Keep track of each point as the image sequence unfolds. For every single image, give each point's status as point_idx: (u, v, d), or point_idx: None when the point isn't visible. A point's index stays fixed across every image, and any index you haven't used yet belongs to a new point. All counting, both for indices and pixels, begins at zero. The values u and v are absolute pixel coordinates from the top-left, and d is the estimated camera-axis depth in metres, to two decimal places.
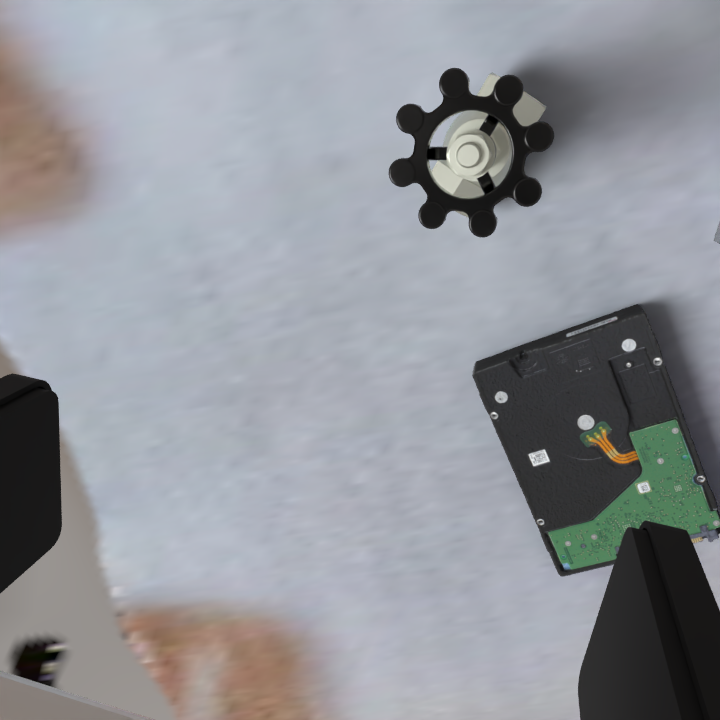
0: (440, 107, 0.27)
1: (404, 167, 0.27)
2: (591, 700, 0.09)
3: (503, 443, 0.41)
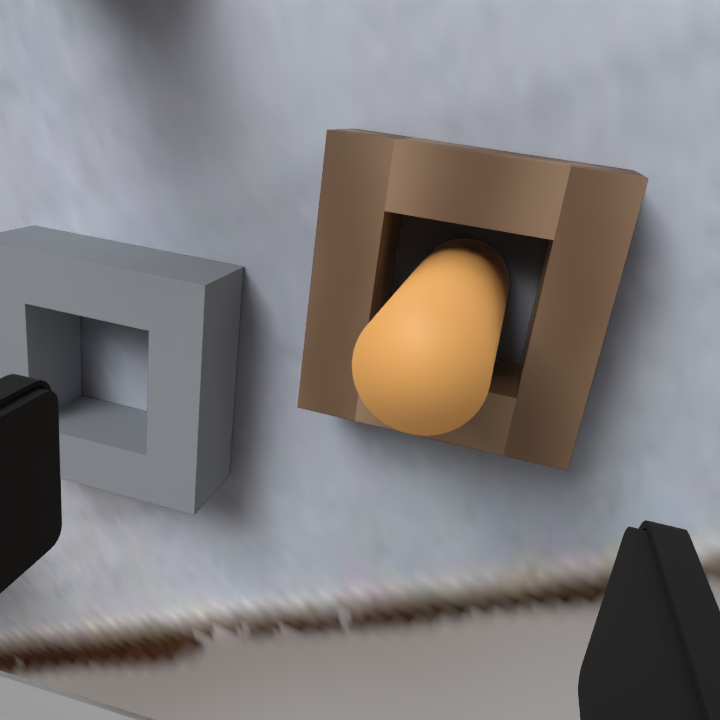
0: None
1: None
2: (591, 700, 0.09)
3: None
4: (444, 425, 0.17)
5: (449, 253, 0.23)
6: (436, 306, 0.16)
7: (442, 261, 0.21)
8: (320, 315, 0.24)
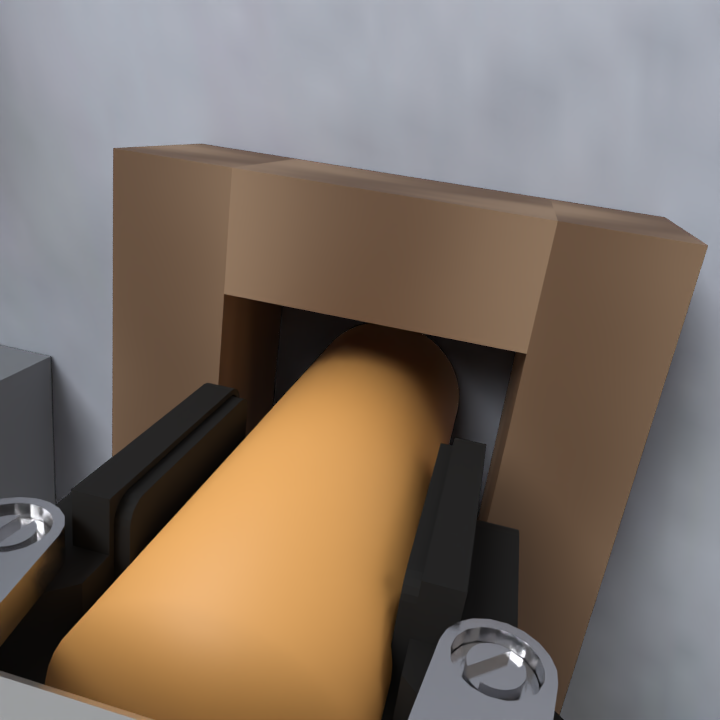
0: None
1: None
2: None
3: None
4: None
5: (342, 368, 0.13)
6: (217, 616, 0.06)
7: (319, 395, 0.11)
8: None
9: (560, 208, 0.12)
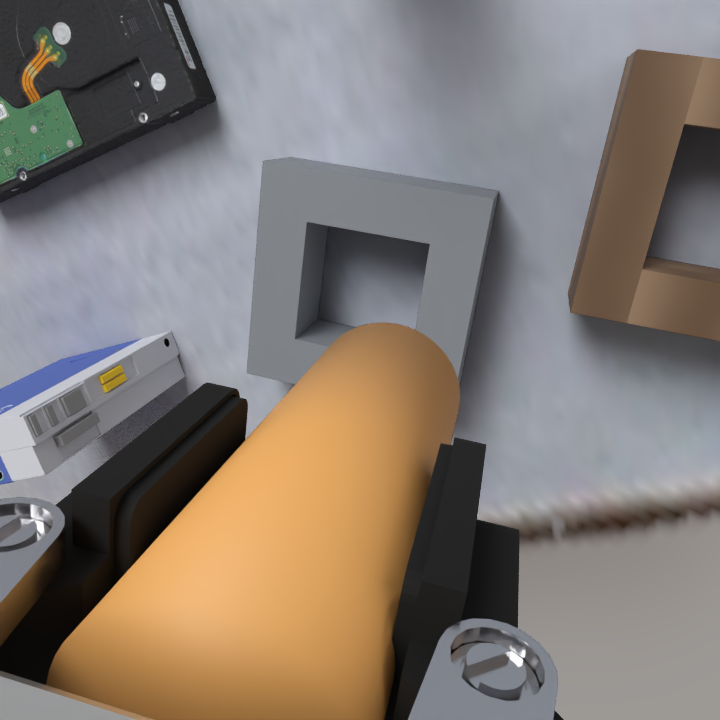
0: None
1: None
2: None
3: None
4: None
5: (344, 368, 0.13)
6: (220, 619, 0.06)
7: (320, 396, 0.11)
8: (606, 223, 0.27)
9: None
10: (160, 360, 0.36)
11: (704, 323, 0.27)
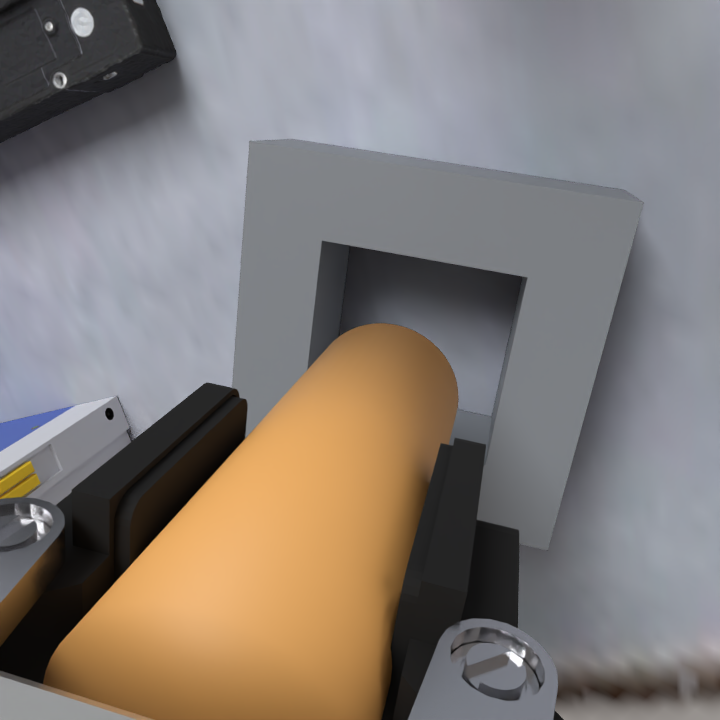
0: None
1: None
2: None
3: None
4: None
5: (341, 369, 0.13)
6: (216, 620, 0.06)
7: (318, 397, 0.11)
8: None
9: None
10: (98, 442, 0.24)
11: None
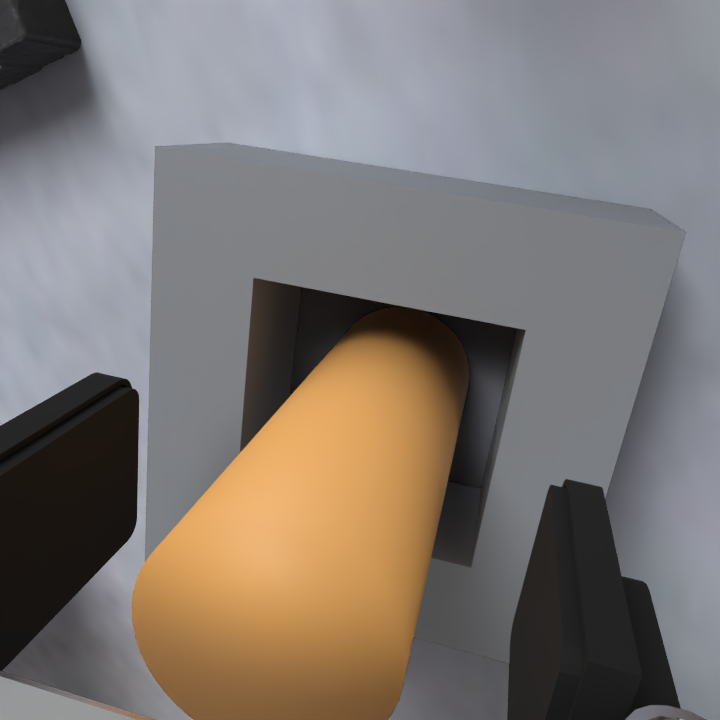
0: None
1: None
2: (517, 645, 0.10)
3: None
4: None
5: (367, 344, 0.14)
6: (286, 528, 0.08)
7: (348, 367, 0.13)
8: None
9: None
10: None
11: None
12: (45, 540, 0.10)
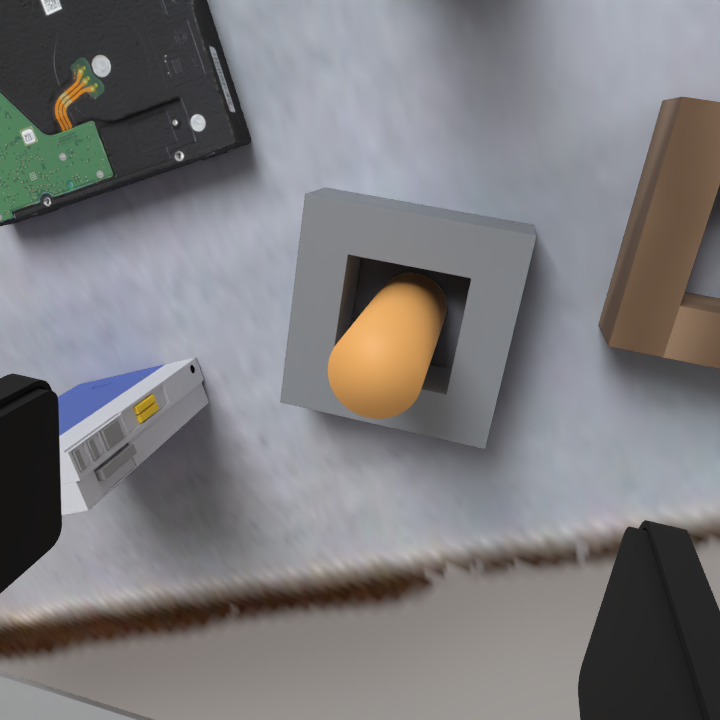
0: None
1: None
2: (591, 700, 0.09)
3: None
4: (391, 411, 0.25)
5: (399, 286, 0.30)
6: (386, 329, 0.24)
7: (393, 293, 0.29)
8: (646, 262, 0.27)
9: None
10: (187, 387, 0.36)
11: None
12: None
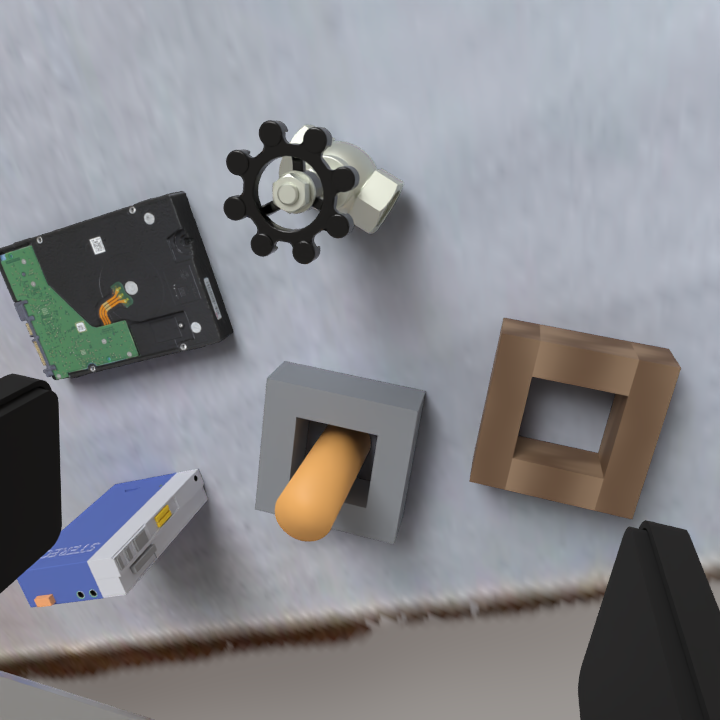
0: (324, 168, 0.30)
1: (274, 136, 0.30)
2: (591, 700, 0.09)
3: (107, 215, 0.44)
4: (315, 537, 0.39)
5: (331, 437, 0.45)
6: (309, 489, 0.38)
7: (325, 446, 0.43)
8: (488, 430, 0.42)
9: (636, 349, 0.40)
10: (192, 493, 0.50)
11: (552, 492, 0.42)
12: None
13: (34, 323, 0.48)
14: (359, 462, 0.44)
